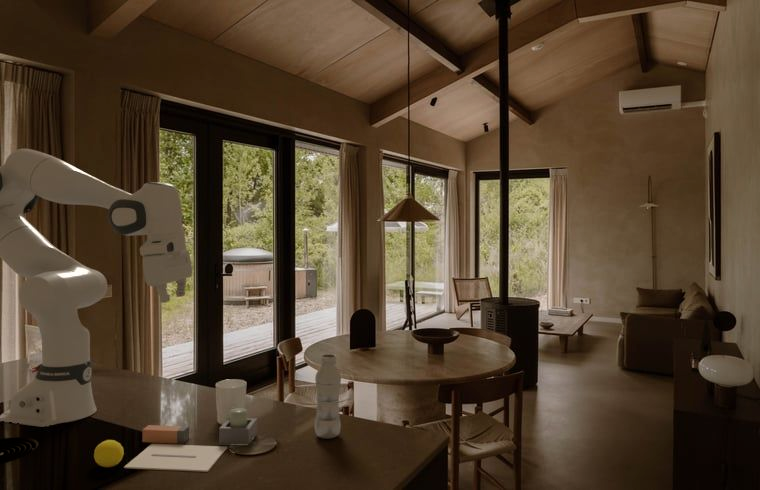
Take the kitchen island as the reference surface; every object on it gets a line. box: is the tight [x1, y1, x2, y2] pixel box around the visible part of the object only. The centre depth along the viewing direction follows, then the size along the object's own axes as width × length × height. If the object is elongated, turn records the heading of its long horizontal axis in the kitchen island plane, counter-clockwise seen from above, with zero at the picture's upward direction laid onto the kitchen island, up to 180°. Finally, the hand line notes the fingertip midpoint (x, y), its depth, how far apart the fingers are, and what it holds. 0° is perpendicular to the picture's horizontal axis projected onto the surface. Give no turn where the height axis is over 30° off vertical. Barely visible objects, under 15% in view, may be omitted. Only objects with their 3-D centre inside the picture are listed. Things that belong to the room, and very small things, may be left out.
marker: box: [141, 424, 190, 445], centre depth 126 cm, size 10×3×3 cm, turn 87°
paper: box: [123, 443, 228, 473], centre depth 117 cm, size 18×12×1 cm, turn 87°
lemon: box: [93, 439, 125, 468], centre depth 112 cm, size 7×5×5 cm
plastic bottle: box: [313, 354, 342, 440], centre depth 130 cm, size 6×7×20 cm
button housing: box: [218, 417, 258, 446], centre depth 127 cm, size 7×7×4 cm
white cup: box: [215, 378, 248, 426], centre depth 139 cm, size 8×8×10 cm
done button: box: [230, 408, 248, 428], centre depth 127 cm, size 4×4×5 cm
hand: (173, 299), depth 135 cm, fingers open, 8 cm apart
